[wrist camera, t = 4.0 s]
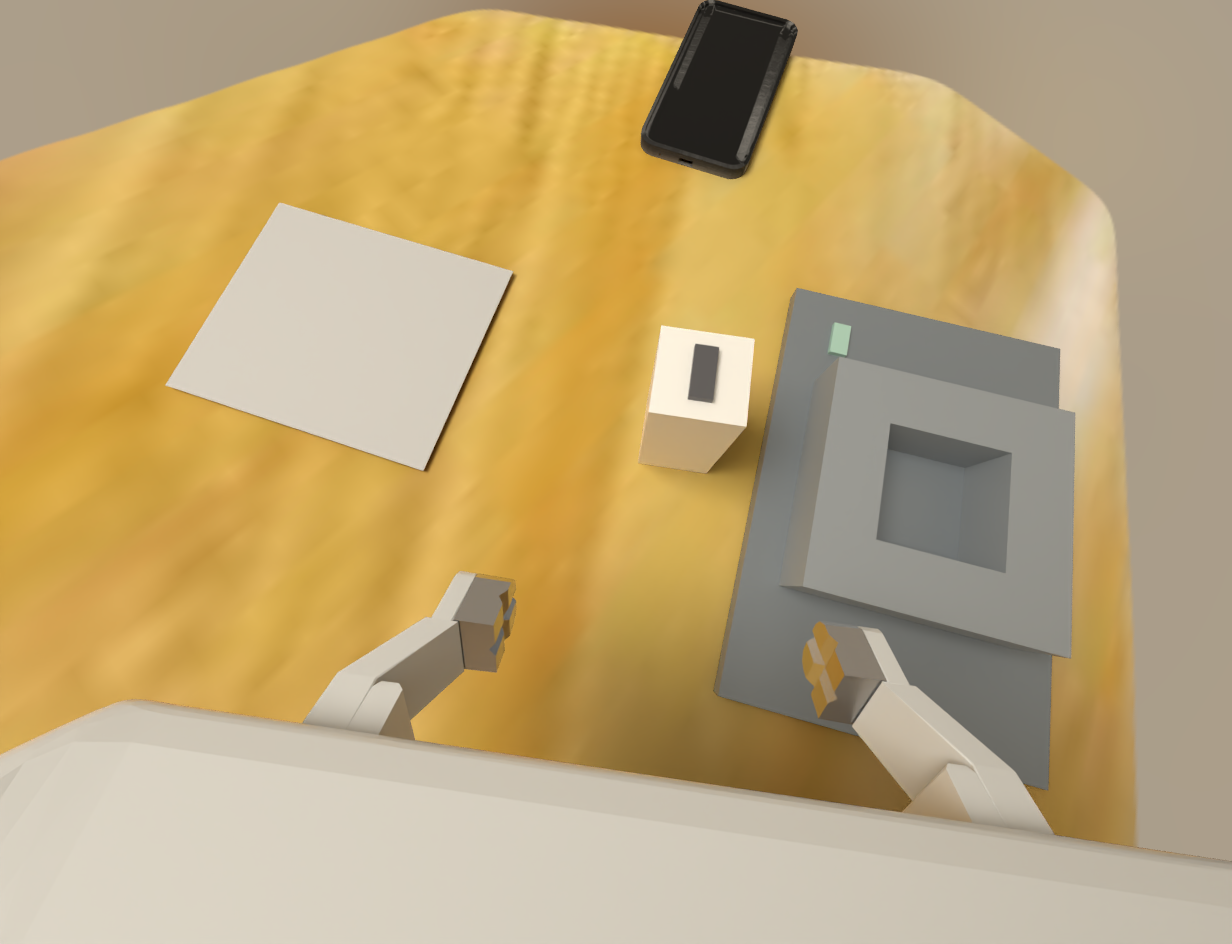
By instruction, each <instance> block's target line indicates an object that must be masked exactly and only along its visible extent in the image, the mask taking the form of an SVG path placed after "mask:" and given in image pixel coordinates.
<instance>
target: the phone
mask: <svg viewBox="0 0 1232 944" xmlns="http://www.w3.org/2000/svg"><path fill="white" fill-rule="evenodd" d="M797 32H798V30H797V27H796V26H795V24H794V23H792V22H791V21H789V20H786V19H783V18H779V17H776V16H772V15H768V14H765V13H761V12H757V11H754V10H750V9H747V8H743V7H739V6H736V5H732V4H728V3H725V2H721V1H717V0H707V1H704V2H702V3H701V4H700V5H699V7H698V9H697V11H696V13H695V15H694V18H693V20H692V22H691V24H690V26H689V28H688V31H687V33H686V35H685V37H684V39H683V41H682V43H681V46H680V48H679V50H678V52H677V54H676V56H675V59H674V61H673V63H672V65H671V67H670V69H669V72H668V74H667V76H666V78H665V80H664V82H663V84H662V87H661V89H660V91H659V93H658V95H657V97H656V100H655V102H654V104H653V106H652V108H651V110H650V113H649V115H648V117H647V119H646V121H645V123H644V125H643V128H642V131H641V147H642V149H643V151H645V152H646V153H647V154H649V155H651V156H654V157H658V158H661V159H664V160H667V161H671V162H674V163H677V164H681V165H684V166H687V167H690V168H694V169H697V170H700V171H703V172H707V173H710V174H713V175H717V176H720V177H723V178H727V179H736V178H739V177H741V176H742V175H743V174H744V173H745V171H746V169H747V167H748V164H749V161H750V159H751V156H752V153H753V151H754V148H755V146H756V143H757V140H758V138H759V135H760V132H761V130H762V127H763V124H764V122H765V119H766V116H767V114H768V111H769V109H770V106H771V103H772V101H773V98H774V95H775V93H776V90H777V87H778V85H779V82H780V79H781V77H782V74H783V72H784V69H785V66H786V64H787V61H788V58H789V56H790V53H791V51H792V48H793V45H794V42H795V39H796V36H797ZM659 153H660V154H661V155H659ZM680 158H682V159H685V160H688V161H692V162H693V163H692V164H689V163H686V162H683V161H680V160H679V159H680Z"/></svg>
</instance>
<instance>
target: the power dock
mask: <svg viewBox="0 0 1232 944" xmlns="http://www.w3.org/2000/svg"><path fill="white" fill-rule="evenodd" d="M1059 375H1060V349H1058V348H1054V347H1049V346H1045V345H1041V344H1036V343H1032V342H1028V341H1023V340H1019V339H1015V338H1011V337H1006V336H1002V335H998V334H993V333H989V332H985V331H980V330H976V329H972V328H967V327H963V326H959V325H955V324H950V323H946V322H942V321H937V320H933V319H929V318H924V317H920V316H916V315H911V314H907V313H903V312H898V311H894V310H890V309H886V308H881V307H877V306H873V305H868V304H864V303H860V302H855V301H851V300H847V299H842V298H838V297H834V296H829V295H825V294H821V293H817V292H812V291H808V290H804V289H799V288H797V289H796V290H795V292H794V293H793V295H792V297H791V299H790V304H789V309H788V314H787V319H786V324H785V329H784V335H783V340H782V345H781V350H780V355H779V360H778V365H777V370H776V375H775V380H774V385H773V391H772V396H771V401H770V406H769V411H768V416H767V421H766V426H765V431H764V436H763V441H762V447H761V452H760V457H759V462H758V467H757V472H756V477H755V482H754V487H753V492H752V498H751V503H750V508H749V513H748V518H747V523H746V528H745V533H744V538H743V543H742V548H741V554H740V559H739V564H738V569H737V574H736V579H735V584H734V589H733V594H732V599H731V604H730V610H729V615H728V620H727V625H726V630H725V635H724V640H723V645H722V650H721V655H720V661H719V666H718V671H717V676H716V681H715V686H714V692H715V693H716V694H717V695H718V696H720V697H723V698H727V699H730V700H734V701H737V702H741V703H744V704H748V705H751V706H755V707H758V708H762V709H765V710H769V711H772V712H776V713H779V714H783V715H786V716H790V717H793V718H797V719H800V720H804V721H807V722H811V723H814V724H818V725H821V726H825V727H828V728H832V729H835V730H839V731H842V732H846V733H849V734H853V735H856V736H859V735H858V733H857V732H856V731H855V730H854V728H853V727H852V725H851V724H846V723H840V722H834V721H828V720H822V719H818V716H817V713H816V709H815V706H814V703H813V700H812V697H811V692H812V690H813V688H814V686H813V685H812V684H811V683H810V682H809V681H808V680H807V679H806V677H805V674H804V670H803V664H802V656H803V649H804V647H805V645H806V642H807V641H809V640H811V639H812V638H814V634H813V631H812V630H813V628H814V626H815V624H816V623H818V622H819V621H822V622H830V623H837V624H845V625H853V626H860V627H868V628H875V629H879V630H880V631H881V632H882V633H883V635H884V637H885V639H886V641H887V643H888V645H889V647H890V649H891V650H892V652H893V654H894V656H895V658H896V660H897V662H898V664H899V666H900V667H901V669H902V671H903V673H904V675H905V677H906V679H907V681H908V683H909V685H911V686H916V687H917V688H918V689H920V690H921V691H922V692H923V693H924V694H925V695H927V696H928V697H929V698H930V699H931V700H932V701H934V702H935V703H936V704H937V705H938V706H939V707H941V708H942V709H943V710H944V711H945V712H946V713H948V714H949V715H950V716H951V717H952V718H953V719H955V720H956V721H957V722H958V723H959V724H960V725H962V726H963V727H964V728H965V729H966V730H967V731H969V732H970V733H971V734H972V735H973V736H974V737H975V738H977V739H978V740H979V741H980V742H981V743H982V744H984V745H985V746H986V747H987V748H988V749H989V750H991V751H992V752H993V753H994V754H995V755H996V756H998V757H999V758H1000V759H1001V760H1002V761H1003V762H1005V763H1006V764H1007V765H1008V766H1009V767H1010V768H1012V769H1013V770H1014V771H1015V772H1016V774H1017V775H1018V777H1019V778H1020V780H1021V782H1022V783H1024V784H1027V785H1030V786H1034V787H1037V788H1041V789H1044V790H1048V784H1049V746H1050V709H1051V672H1052V655H1053V656H1059V657H1065V658H1071V632H1072V574H1073V515H1074V457H1075V413H1074V412H1070V411H1065V410H1061V409H1059ZM859 737H860V736H859Z"/></svg>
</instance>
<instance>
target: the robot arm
mask: <svg viewBox="0 0 1232 944" xmlns="http://www.w3.org/2000/svg"><path fill="white" fill-rule="evenodd" d="M515 590H516V584H515V580H514V579H509V578H503V577H497V576H490V575H484V574H476V573H470V572H464V571H459V572H458V573H457V574H456V575H455V577H454V578H453V580H452V582H451V584H450V586H449V587H448V589H447V591H446V593H445V594H444V596H443V598H442V600H441V601H440V603H439V605H438V607H437V608H436V610H435V612H434V614H433V616H432V617H431V618H430V617H425V618H423V619H422V620H420V621H419V622H417V623H416V624H414V625H412V626H411V627H409V628H408V629H406V630H404V631H403V632H401V633H400V634H398V635H396V636H395V637H393V638H392V639H390V640H389V641H387V642H385V643H384V644H382V645H381V646H379V647H377V648H376V649H374V650H373V651H371V652H370V653H368V654H366V655H365V656H363V657H362V658H360V659H358V660H357V661H355V662H354V663H352V664H350V665H349V666H347V667H346V668H344V669H343V670H341V671H339V672H338V673H337V674H336V676H335V677H334V678H333V680H332V681H331V683H330V684H329V686H328V687H327V688H326V690H325V691H324V693H323V694H322V696H321V697H320V698H319V700H318V701H317V703H316V704H315V706H314V707H313V708H312V710H311V711H310V713H309V714H308V715H307V717H306V718H305V720H304V721H303V723H296V722H290V721H283V720H276V719H269V718H263V717H256V716H249V715H243V714H236V713H229V712H222V711H216V710H209V709H202V708H196V707H189V706H182V705H176V704H170V703H164V702H157V701H151V700H142V699H131V700H124V701H120V702H117V703H114V704H111V705H109V706H106V707H104V708H101V709H98V710H96V711H93V712H91V713H89V714H87V715H85V716H82V717H80V718H78V719H76V720H73V721H71V722H69V723H67V724H64V725H62V726H60V727H58V728H56V729H53V730H51V731H49V732H47V733H45V734H43V735H41V736H38V737H36V738H34V739H32V740H30V741H28V742H26V743H23V744H21V745H19V746H17V747H15V748H13V749H11V750H9V751H7V752H5V753H3V754H1V755H0V944H1232V861H1226V860H1220V859H1213V858H1206V857H1200V856H1193V855H1186V854H1179V853H1172V852H1166V851H1158V850H1151V849H1145V848H1139V847H1132V846H1125V845H1118V844H1112V843H1105V842H1098V841H1091V840H1085V839H1078V838H1071V837H1064V836H1058V835H1055V834H1054V833H1053V831H1052V829H1051V828H1050V826H1049V825H1048V823H1047V822H1046V820H1045V818H1044V817H1043V815H1042V814H1041V812H1040V810H1039V809H1038V807H1037V806H1036V804H1035V802H1034V801H1033V799H1032V798H1031V796H1030V794H1029V793H1028V791H1027V790H1026V788H1025V786H1024V785H1023V783H1022V782H1021V780H1020V778H1019V777H1018V775H1017V774H1016V772H1015V771H1014V770H1013V769H1012V768H1010V767H1009V766H1008V765H1007V764H1006V763H1005V762H1003V761H1002V760H1001V759H1000V758H999V757H998V756H996V755H995V754H994V753H993V752H992V751H991V750H989V749H988V748H987V747H986V746H985V745H984V744H982V743H981V742H980V741H979V740H978V739H977V738H975V737H974V736H973V735H972V734H971V733H970V732H969V731H967V730H966V729H965V728H964V727H963V726H962V725H960V724H959V723H958V722H957V721H956V720H955V719H953V718H952V717H951V716H950V715H949V714H948V713H946V712H945V711H944V710H943V709H942V708H941V707H939V706H938V705H937V704H936V703H935V702H934V701H932V700H931V699H930V698H929V697H928V696H927V695H925V694H924V693H923V692H922V691H921V690H920V689H918V688H917V687H916V686H911V685H909V683H908V681H907V679H906V677H905V675H904V673H903V671H902V669H901V667H900V666H899V664H898V662H897V660H896V658H895V656H894V654H893V652H892V650H891V649H890V647H889V645H888V643H887V641H886V639H885V637H884V635H883V633H882V632H881V631H880V630H879V629H875V628H868V627H860V626H853V625H845V624H837V623H830V622H822V621H819V622H818V623H816V624H815V626H814V628H813V630H812V631H813V634H814V638H812V639H811V640H809V641H807V642H806V645H805V647H804V649H803V656H802V664H803V670H804V674H805V677H806V679H807V680H808V681H809V682H810V683H811V684H812V685H813V686H814V688H813V690H812V692H811V697H812V700H813V703H814V706H815V709H816V713H817V716H818V719H822V720H828V721H834V722H840V723H846V724H851V725H852V727H853V728H854V730H855V731H856V732H857V733H858V735H859V736H860V737H861V738H862V740H863V741H864V742H865V743H866V744H867V746H868V747H869V748H870V749H871V751H872V752H873V753H874V754H875V756H876V757H877V758H878V759H879V761H880V762H881V763H882V764H883V765H884V767H885V768H886V769H887V770H888V772H889V773H890V774H891V775H892V777H893V778H894V779H895V780H896V782H897V783H898V784H899V785H900V786H901V788H902V789H903V790H904V791H905V793H906V794H907V795H908V796H909V798H910V799H911V800H912V802H911V803H910V804H909V805H908V806H907V807H906V808H905V809H904V810H903V811H902V812H896V811H889V810H882V809H876V808H869V807H862V806H855V805H849V804H842V803H835V802H828V801H822V800H815V799H808V798H801V797H795V796H788V795H781V794H774V793H768V792H761V791H754V790H747V789H741V788H734V787H727V786H720V785H714V784H707V783H700V782H693V781H687V780H680V779H673V778H666V777H659V776H653V775H646V774H639V773H632V772H625V771H619V770H612V769H605V768H598V767H592V766H585V765H578V764H571V763H565V762H558V761H551V760H545V759H538V758H531V757H524V756H518V755H511V754H504V753H497V752H491V751H484V750H477V749H471V748H464V747H457V746H450V745H444V744H437V743H430V742H423V741H417V740H415V738H414V734H413V730H412V726H411V722H410V720H411V719H412V718H413V717H414V716H415V715H417V714H418V713H419V712H420V711H421V710H422V709H423V708H424V707H425V706H426V705H427V704H429V703H430V702H431V701H432V700H433V699H434V698H435V697H436V696H437V695H438V694H439V693H441V692H442V691H443V690H444V689H445V688H446V687H447V686H448V685H449V684H450V683H451V682H453V681H454V680H455V679H456V678H457V677H458V676H459V675H460V674H461V673H462V672H463V671H464V669H471V670H479V671H488V672H497V670H498V667H499V665H500V662H501V659H502V656H503V654H504V651H505V644H504V640H505V639H506V638H508V637H509V636H510V634H511V631H512V628H513V624H514V620H515V615H516V600H515V599H514V598H513V596H514V593H515Z"/></svg>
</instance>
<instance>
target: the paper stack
mask: <svg viewBox="0 0 1232 944" xmlns="http://www.w3.org/2000/svg"><path fill="white" fill-rule="evenodd" d="M512 273H513V271H510V270H507V269H503V268H500V267H496V266H493V265H490V264H486V263H483V262H479V261H476V260H473V259H469V258H466V257H462V256H459V255H456V254H452V253H449V252H445V251H442V250H439V249H435V248H432V247H428V246H425V245H422V244H418V243H415V242H412V241H408V240H405V239H401V238H398V237H395V236H391V235H388V234H384V233H381V232H378V231H374V230H371V229H367V228H364V227H361V226H357V225H354V224H350V223H347V222H344V221H340V220H337V219H333V218H330V217H327V216H323V215H320V214H316V213H313V212H310V211H306V210H303V209H299V208H296V207H293V206H289V205H286V204H282V203H279V204H278V206H277V207H276V209H275V211H274V212H273V214H272V215H271V217H270V219H269V220H268V222H267V223H266V225H265V227H264V228H263V230H262V231H261V233H260V235H259V236H258V238H257V239H256V241H255V243H254V244H253V246H252V247H251V249H250V251H249V252H248V254H247V255H246V257H245V259H244V260H243V262H242V263H241V265H240V267H239V268H238V270H237V271H236V273H235V275H234V276H233V278H232V279H231V281H230V283H229V284H228V286H227V287H226V289H225V291H224V292H223V294H222V295H221V297H220V299H219V300H218V302H217V303H216V305H215V307H214V308H213V310H212V311H211V313H210V315H209V316H208V318H207V319H206V321H205V323H204V324H203V326H202V327H201V329H200V331H199V332H198V334H197V335H196V337H195V339H194V340H193V342H192V343H191V345H190V347H189V348H188V350H187V351H186V353H185V355H184V356H183V358H182V359H181V361H180V363H179V364H178V366H177V367H176V369H175V371H174V372H173V374H172V375H171V377H170V379H169V380H168V382H167V383H166V386H169V387H172V388H175V389H178V390H181V391H184V392H187V393H190V394H193V395H196V396H199V397H202V398H205V399H208V400H211V401H214V402H217V403H220V404H223V405H226V406H229V407H232V408H235V409H238V410H241V411H244V412H247V413H250V414H253V415H256V416H259V417H262V418H265V419H268V420H271V421H274V422H277V423H280V424H283V425H286V426H289V427H292V428H295V429H298V430H302V431H305V432H308V433H311V434H314V435H317V436H320V437H323V438H326V439H329V440H332V441H335V442H338V443H341V444H344V445H347V446H350V447H353V448H356V449H359V450H362V451H365V452H368V453H371V454H374V455H377V456H380V457H383V458H386V459H389V460H392V461H395V462H398V463H401V464H404V465H407V466H410V467H413V468H416V469H419V470H422V471H424V469H425V466H426V464H427V462H428V460H429V457H430V455H431V453H432V451H433V449H434V446H435V444H436V442H437V440H438V437H439V435H440V433H441V431H442V429H443V426H444V424H445V422H446V420H447V417H448V415H449V413H450V411H451V409H452V406H453V404H454V402H455V400H456V397H457V395H458V393H459V391H460V389H461V386H462V384H463V382H464V380H465V377H466V375H467V373H468V371H469V369H470V366H471V364H472V362H473V360H474V357H475V355H476V353H477V351H478V349H479V346H480V344H481V342H482V340H483V337H484V335H485V333H486V331H487V329H488V326H489V324H490V322H491V320H492V317H493V315H494V313H495V311H496V309H497V306H498V304H499V302H500V300H501V297H502V295H503V293H504V291H505V289H506V286H507V284H508V282H509V280H510V277H511V275H512Z"/></svg>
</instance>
